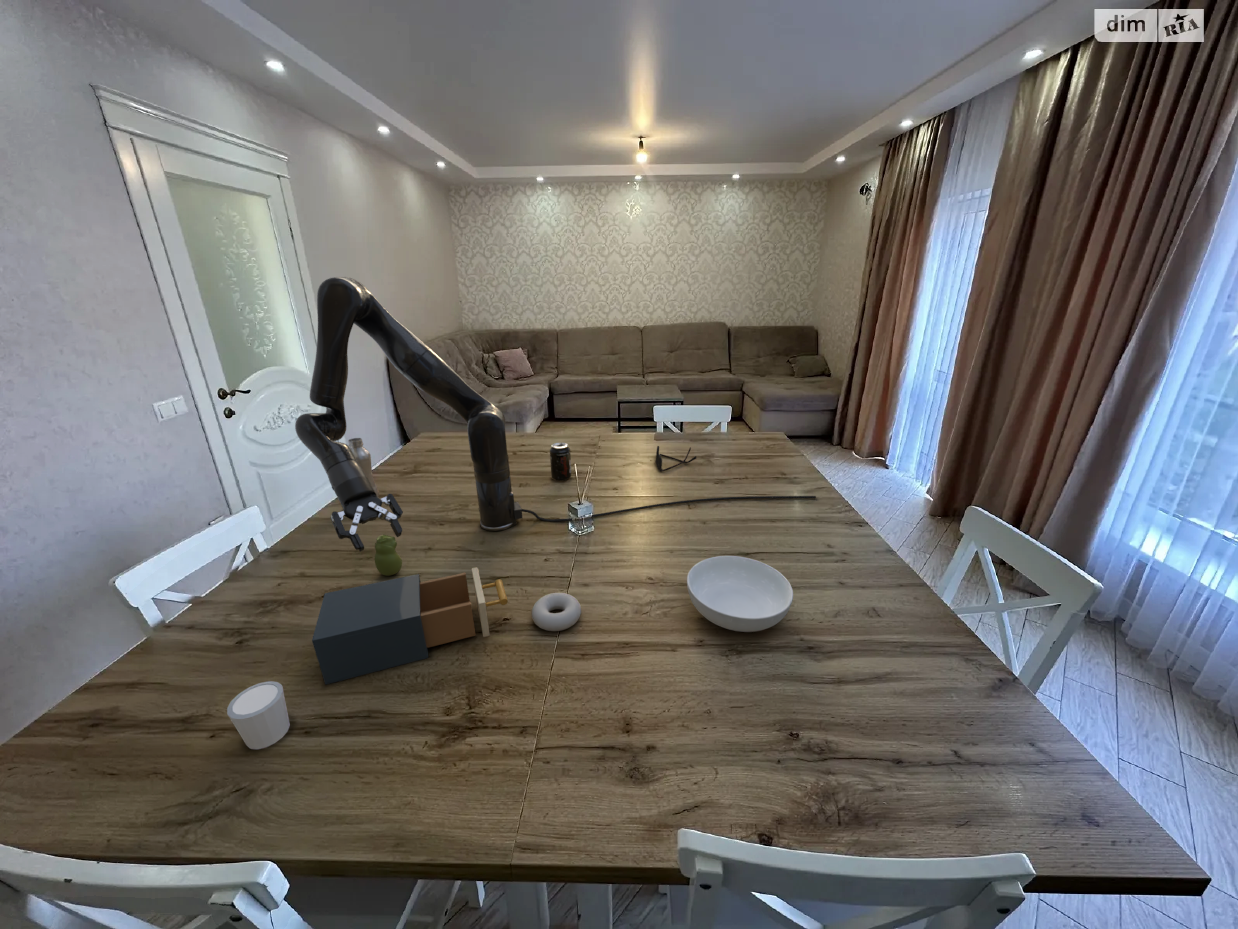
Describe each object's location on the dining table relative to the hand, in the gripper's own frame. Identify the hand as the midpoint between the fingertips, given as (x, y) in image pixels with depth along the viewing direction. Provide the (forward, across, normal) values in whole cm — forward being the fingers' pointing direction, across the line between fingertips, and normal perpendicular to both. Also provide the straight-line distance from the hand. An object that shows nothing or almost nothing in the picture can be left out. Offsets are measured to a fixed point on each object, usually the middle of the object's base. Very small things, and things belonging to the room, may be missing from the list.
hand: (381, 542), depth 112 cm
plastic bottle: (-24, +13, +35) cm, 45 cm away
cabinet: (+22, -12, -11) cm, 28 cm away
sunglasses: (+14, +100, -3) cm, 101 cm away
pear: (+7, 0, +4) cm, 8 cm away
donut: (+36, +15, -25) cm, 46 cm away
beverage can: (-1, +64, +12) cm, 65 cm away
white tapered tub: (+26, -32, -15) cm, 44 cm away
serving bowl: (+55, +41, -44) cm, 81 cm away
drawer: (+26, 0, -17) cm, 31 cm away
